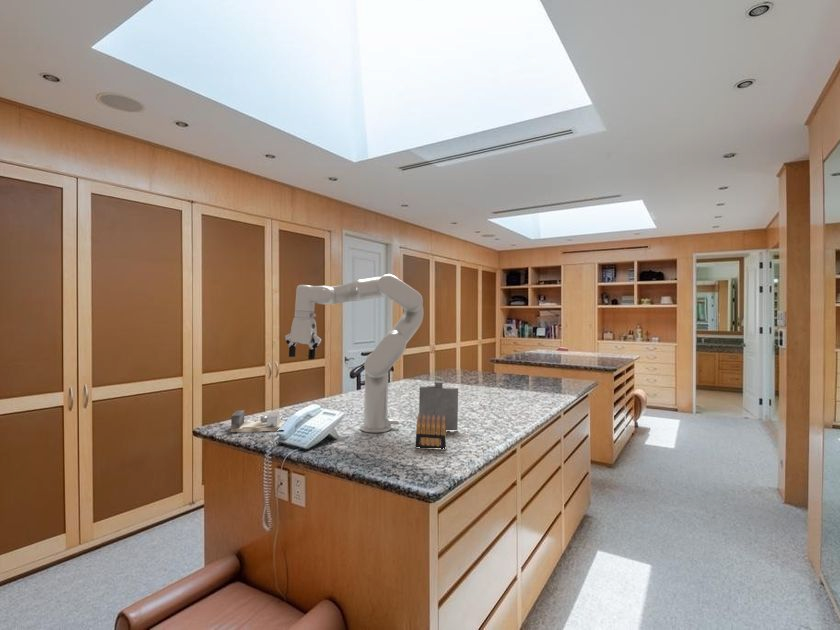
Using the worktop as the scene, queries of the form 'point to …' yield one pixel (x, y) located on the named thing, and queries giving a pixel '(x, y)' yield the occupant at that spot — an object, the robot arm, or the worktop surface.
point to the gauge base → (249, 424)
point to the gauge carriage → (271, 419)
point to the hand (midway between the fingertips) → (301, 357)
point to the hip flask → (439, 404)
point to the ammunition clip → (430, 433)
